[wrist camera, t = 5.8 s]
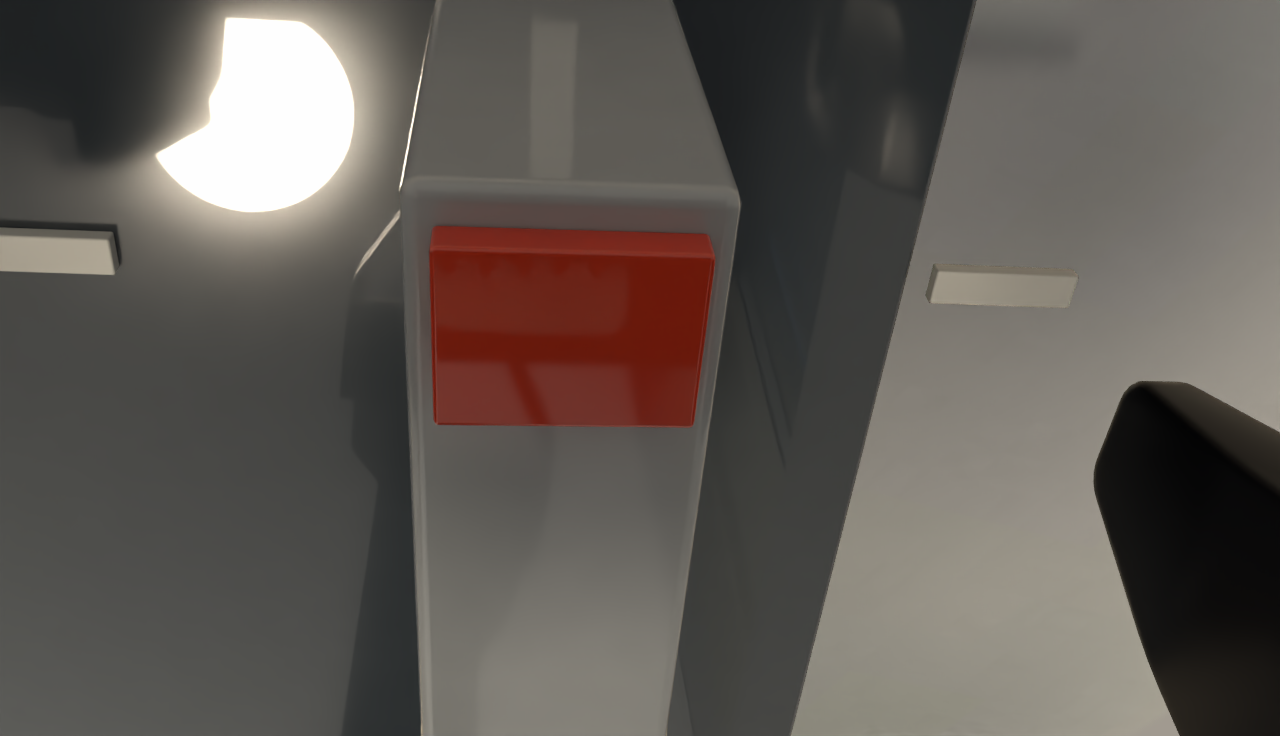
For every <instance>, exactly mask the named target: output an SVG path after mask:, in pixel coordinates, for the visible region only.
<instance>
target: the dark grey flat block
mask: <svg viewBox="0 0 1280 736" xmlns="http://www.w3.org/2000/svg"><path fill="white" fill-rule="evenodd" d="M673 2H674V5H675V8H676V11H677V13H678V16H679V19H680V22H681V25H682V28H683V31H684V34H685V37H686V40H687V43H688V46H689V48H690V51H691V54H692V57H693V60H694V63H695V66H696V69H697V72H698V75H699V78H700V81H701V84H702V86H703V89H704V92H705V95H706V98H707V101H708V104H709V107H710V110H711V113H712V116H713V119H714V121H715V124H716V127H717V130H718V133H719V136H720V139H721V142H722V145H723V148H724V151H725V154H726V156H727V159H728V162H729V165H730V168H731V171H732V174H733V177H734V180H735V183H736V186H737V189H738V192H739V195H740V198H741V201H742V206H741V213H740V220H739V227H738V234H737V241H736V248H735V255H734V262H733V269H732V277H731V284H730V291H729V298H728V305H727V312H726V319H725V326H724V333H723V340H722V347H721V354H720V361H719V368H718V375H717V382H716V390H715V397H714V404H713V411H712V418H711V425H710V432H709V439H708V446H707V453H706V460H705V467H704V474H703V481H702V488H701V496H700V503H699V510H698V517H697V524H696V531H695V538H694V545H693V552H692V559H691V566H690V573H689V580H688V587H687V594H686V602H685V609H684V616H683V623H682V630H681V637H680V644H679V651H678V658H677V665H676V672H675V679H674V686H673V693H672V700H671V707H670V715H669V722H668V729H667V736H791V732H792V729H793V725H794V721H795V717H796V713H797V709H798V705H799V701H800V697H801V693H802V689H803V685H804V681H805V677H806V673H807V669H808V665H809V661H810V657H811V653H812V649H813V645H814V641H815V637H816V633H817V630H818V626H819V622H820V618H821V614H822V610H823V606H824V602H825V598H826V594H827V590H828V586H829V582H830V578H831V574H832V570H833V566H834V562H835V558H836V554H837V550H838V546H839V542H840V538H841V534H842V531H843V527H844V523H845V519H846V515H847V511H848V507H849V503H850V499H851V495H852V491H853V487H854V483H855V479H856V475H857V471H858V467H859V463H860V459H861V455H862V451H863V447H864V443H865V439H866V435H867V432H868V428H869V424H870V420H871V416H872V412H873V408H874V404H875V400H876V396H877V392H878V388H879V384H880V380H881V376H882V372H883V368H884V364H885V360H886V356H887V352H888V348H889V344H890V340H891V336H892V333H893V329H894V325H895V321H896V317H897V313H898V309H899V305H900V301H901V297H902V293H903V289H904V285H905V281H906V277H907V273H908V269H909V265H910V261H911V257H912V253H913V249H914V245H915V241H916V237H917V233H918V230H919V226H920V222H921V218H922V214H923V210H924V206H925V202H926V198H927V194H928V190H929V186H930V182H931V178H932V174H933V170H934V166H935V162H936V158H937V154H938V150H939V146H940V142H941V138H942V134H943V131H944V127H945V123H946V119H947V115H948V111H949V107H950V103H951V99H952V95H953V91H954V87H955V83H956V79H957V75H958V71H959V67H960V63H961V59H962V55H963V51H964V47H965V43H966V39H967V35H968V32H969V28H970V24H971V20H972V16H973V12H974V8H975V4H976V0H673ZM433 5H434V0H0V736H421V722H420V698H419V673H418V649H417V624H416V600H415V575H414V551H413V526H412V502H411V477H410V453H409V428H408V404H407V379H406V355H405V330H404V306H403V281H402V257H401V232H400V208H399V188H400V182H401V177H402V172H403V166H404V161H405V156H406V150H407V145H408V139H409V134H410V129H411V123H412V118H413V112H414V107H415V102H416V96H417V91H418V86H419V80H420V75H421V69H422V64H423V59H424V53H425V48H426V43H427V37H428V32H429V26H430V21H431V16H432V10H433ZM1078 278H1079V277H1078V275H1077V274H1076V272H1075V271H1074V270H1073V269H1057V268H1032V267H1006V266H980V265H955V264H934V265H933V268H932V272H931V276H930V280H929V283H928V287H927V291H926V297H927V299H928V301H929V303H935V304H963V305H992V306H1021V307H1050V308H1068V307H1069V304H1070V301H1071V298H1072V296H1073V293H1074V290H1075V287H1076V284H1077V281H1078Z"/></svg>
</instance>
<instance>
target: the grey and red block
mask: <svg viewBox="0 0 1280 736" xmlns="http://www.w3.org/2000/svg"><path fill="white" fill-rule="evenodd" d="M741 206H742V201H741V198H740V195H739V192H738V189H737V186H736V183H735V180H734V177H733V174H732V171H731V168H730V165H729V162H728V159H727V156H726V154H725V151H724V148H723V145H722V142H721V139H720V136H719V133H718V130H717V127H716V124H715V121H714V119H713V116H712V113H711V110H710V107H709V104H708V101H707V98H706V95H705V92H704V89H703V86H702V84H701V81H700V78H699V75H698V72H697V69H696V66H695V63H694V60H693V57H692V54H691V51H690V48H689V46H688V43H687V40H686V37H685V34H684V31H683V28H682V25H681V22H680V19H679V16H678V13H677V11H676V8H675V5H674V2H673V0H434V5H433V10H432V16H431V21H430V26H429V32H428V37H427V43H426V48H425V53H424V59H423V64H422V69H421V75H420V80H419V86H418V91H417V96H416V102H415V107H414V112H413V118H412V123H411V129H410V134H409V139H408V145H407V150H406V156H405V161H404V166H403V172H402V177H401V182H400V188H399V208H400V232H401V257H402V281H403V306H404V330H405V355H406V379H407V404H408V428H409V453H410V477H411V502H412V526H413V551H414V575H415V600H416V624H417V649H418V673H419V698H420V722H421V736H667V729H668V722H669V715H670V707H671V700H672V693H673V686H674V679H675V672H676V665H677V658H678V651H679V644H680V637H681V630H682V623H683V616H684V609H685V602H686V594H687V587H688V580H689V573H690V566H691V559H692V552H693V545H694V538H695V531H696V524H697V517H698V510H699V503H700V496H701V488H702V481H703V474H704V467H705V460H706V453H707V446H708V439H709V432H710V425H711V418H712V411H713V404H714V397H715V390H716V382H717V375H718V368H719V361H720V354H721V347H722V340H723V333H724V326H725V319H726V312H727V305H728V298H729V291H730V284H731V277H732V269H733V262H734V255H735V248H736V241H737V234H738V227H739V220H740V213H741Z"/></svg>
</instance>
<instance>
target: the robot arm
mask: <svg viewBox="0 0 1280 736" xmlns="http://www.w3.org/2000/svg"><path fill="white" fill-rule="evenodd" d="M1094 491H1095V495H1096V499H1097V502H1098V505H1099V509H1100V512H1101V515H1102V518H1103V521H1104V525H1105V528H1106V531H1107V534H1108V538H1109V541H1110V544H1111V547H1112V550H1113V554H1114V557H1115V560H1116V563H1117V567H1118V570H1119V573H1120V576H1121V579H1122V583H1123V586H1124V589H1125V592H1126V596H1127V599H1128V602H1129V605H1130V608H1131V612H1132V615H1133V618H1134V621H1135V625H1136V628H1137V631H1138V634H1139V637H1140V640H1141V643H1142V645H1143V648H1144V651H1145V654H1146V657H1147V660H1148V662H1149V665H1150V667H1151V670H1152V672H1153V675H1154V677H1155V680H1156V682H1157V685H1158V687H1159V690H1160V692H1161V694H1162V696H1163V699H1164V701H1165V703H1166V706H1167V708H1168V710H1169V712H1170V715H1171V717H1172V719H1173V722H1174V724H1175V726H1176V728H1177V731H1178V733H1179V735H1180V736H1280V432H1278V431H1276V430H1274V429H1272V428H1270V427H1269V426H1267V425H1265V424H1263V423H1261V422H1259V421H1258V420H1256V419H1254V418H1252V417H1250V416H1248V415H1246V414H1245V413H1243V412H1241V411H1239V410H1237V409H1235V408H1233V407H1232V406H1230V405H1228V404H1226V403H1224V402H1222V401H1220V400H1219V399H1217V398H1215V397H1213V396H1211V395H1209V394H1208V393H1206V392H1204V391H1202V390H1200V389H1198V388H1196V387H1195V386H1193V385H1190V384H1188V383H1183V382H1162V381H1139V382H1137V383H1135V384H1133V385H1131V386H1130V387H1129V388H1128V389H1127V390H1126V391H1125V392H1124V394H1123V396H1122V398H1121V400H1120V402H1119V405H1118V407H1117V410H1116V413H1115V415H1114V418H1113V420H1112V423H1111V425H1110V428H1109V430H1108V433H1107V435H1106V438H1105V440H1104V443H1103V445H1102V448H1101V450H1100V453H1099V455H1098V458H1097V461H1096V464H1095V469H1094Z"/></svg>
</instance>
